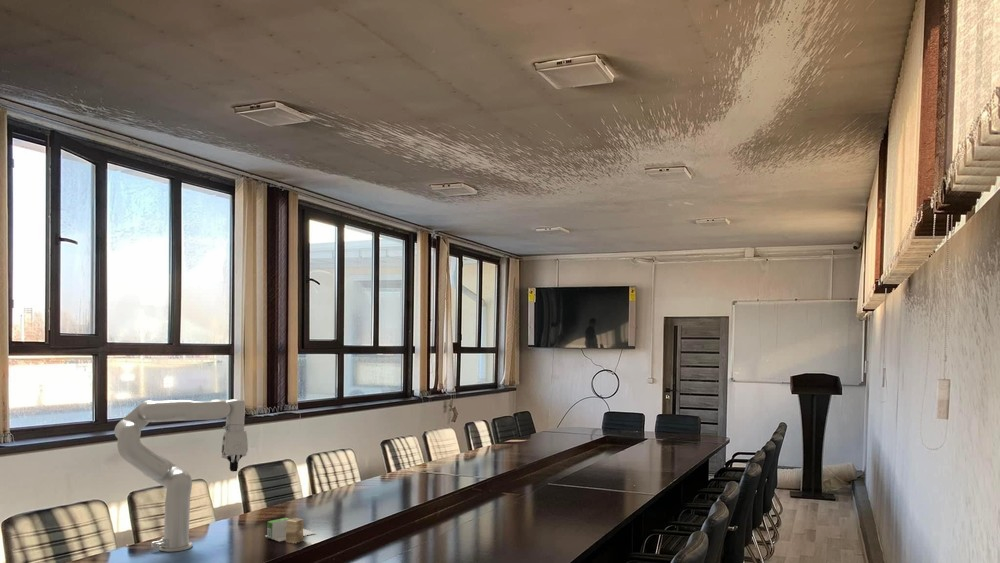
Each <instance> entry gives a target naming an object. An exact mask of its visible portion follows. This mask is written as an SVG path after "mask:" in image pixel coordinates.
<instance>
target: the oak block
mask: <svg viewBox="0 0 1000 563" xmlns="http://www.w3.org/2000/svg"><path fill="white" fill-rule="evenodd" d="M289 519H290V520H286V540H285V542H286V543H289V544H294V543H295V544H298V543H300V541H301V542H304V537H303V529H304V519H302V518H299V517H294V518H289ZM297 542H298V543H297Z"/></svg>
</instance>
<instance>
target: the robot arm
mask: <svg viewBox="0 0 1000 563" xmlns="http://www.w3.org/2000/svg"><path fill="white" fill-rule="evenodd" d="M245 409H246V403H245V400H244V399H239V398H238V399H237V398H235V399H233V398H232V399H219V398H218V399H217V398H216V399H212V400H210V401H194V400H189V399H176V400H152V399H148V400H144V401H142V402H141V403H139V404H138V405H137V406H136V407H135V408H134V409H133V410H131V411H130V412H129V413H128V414H127V415H126V416H125V417H123V418H122V419H121V420H120V421H119V422H117V424H116V425H115V428H114V433H113V434H114V436H115V437H116V439H117V444H116V446H117V450H118V453H119V455H120V457H121V458H122V459H123V460H124V461H125V462H127V463H128V464H129V465H131V466H132V467H134V468H135V469H137V470H139V471H140V472H141V473H143V475H145V477H147V478H149V479H151V480H152V481H155V482H156V483H158V484H159V485H161V486H163V487H164V488H165V489H166V493H165V500H164V520H163V521H164V526H163V536H162V537H160V538H161V539H159V540H155V541H151V543H150V546H151V548H154V547H157V548H158V549H159V551H161V552H167V553H169V552H181V551H185V550H189V549H191V548H192V547H193V542H192V541H189V540H190V538H189V537H190V516H191V514H190V511H191V495H192V489H193V480H192V477H191V475H190V474H189V472H187V471H186V470H184V469H183V468H181V467H179V466H178V465H177V464H175V463H173V462H172V461H170V460H169V459H168V458H166V457H164V456H163V455H162V454H159V453H156V452H154V451H153V450H151V449H149V448H148V447H146V445H144V444H143V443H142V442H141V434H142V431H141V430H143V429H144V428H145V427H146V426H147V425H148V424H149V423H162V422H164V423H165V422H178V421H180V422H181V421H182V422H183V421H184V422H186V421H188V422H189V421H204V420H205V421H207V420H222V419H225V426H223V427H222V429H223V430H225V431H224V432H223V436H222V440H221V441H222V443H221V458H222V459H225V460H227V461H228V462H229V470H230V472H238V469H239V462H240V460H241V459H242V458H244V457H246V456H247V453H248V449H249V447H248V446H249V445H248V444H249V443H248V434H247V430H245V415H246V412H245V411H246V410H245Z"/></svg>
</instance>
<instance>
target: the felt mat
mask: <svg viewBox="0 0 1000 563" xmlns="http://www.w3.org/2000/svg"><path fill="white" fill-rule="evenodd" d="M315 533H316V532H314V531H311V530H308V529H306V528H303V536H304V537H308V536H307V535H309V536H312V535H311V534H314V535H316V534H315ZM264 537H266V538H267V534H266V535H264ZM272 540H274V541H277V542H278V543H280V542H284V541H285V542H286V536H283V537H279V538H275V539H272Z"/></svg>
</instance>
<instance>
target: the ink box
mask: <svg viewBox="0 0 1000 563" xmlns="http://www.w3.org/2000/svg"><path fill="white" fill-rule="evenodd" d="M290 519H291V518H288V517H284V518H283V517H282V518H279V519H273V520H268V521H267V524H266V526H267V528H266V535H267V537H266V538H267V539H271V540H273V539H275V538H279V537H283V536H286V520H290Z"/></svg>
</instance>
